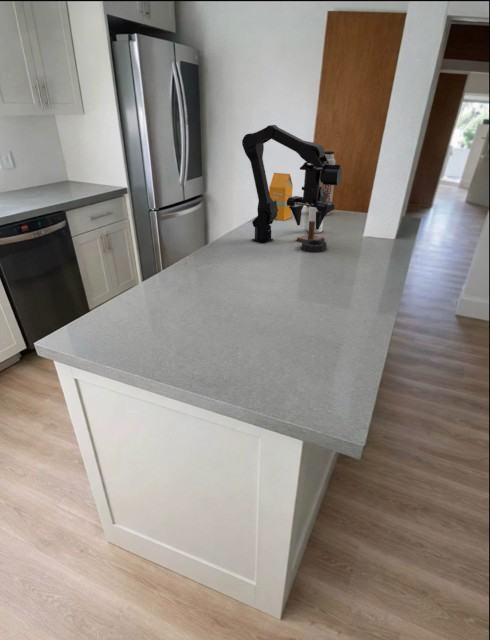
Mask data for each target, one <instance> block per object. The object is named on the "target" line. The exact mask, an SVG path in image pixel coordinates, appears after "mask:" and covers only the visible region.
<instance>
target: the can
mask: <svg viewBox="0 0 490 640" xmlns="http://www.w3.org/2000/svg"><path fill="white" fill-rule="evenodd" d="M313 205H314V204H313ZM308 210H309V211H308V220H307V231H308V230H309V221H315V229H314V234H320V233H322V231H323V225H324V220H323V221H322V223H321V225H320V227H319V229H318V230H316V212H317V211H318V210H317V208H315V207H310V206H309V209H308Z"/></svg>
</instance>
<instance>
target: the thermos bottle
mask: <svg viewBox="0 0 490 640" xmlns="http://www.w3.org/2000/svg"><path fill="white" fill-rule="evenodd" d="M325 156H326V158H327V160H328V162H329V164H334V165H336V158H335V151H330V150H329V151H325ZM320 186H321V187H322V191H323V192H325V193H328V197H327V200H326V201H330V202H333V196H334V187H335V185H323V183H322V182H321V181H320ZM320 202H323V201H320ZM331 214H332V211H331V212H329V213H327V214H326V215H325V216H330V215H331Z"/></svg>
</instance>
